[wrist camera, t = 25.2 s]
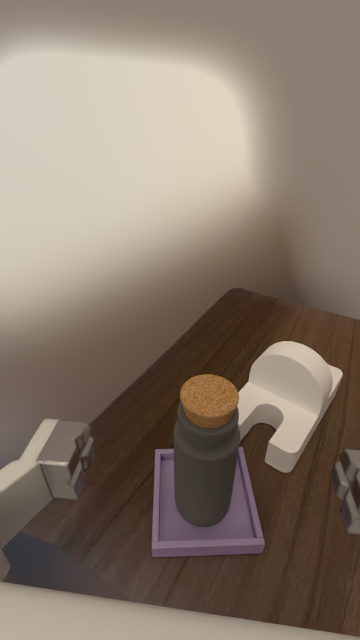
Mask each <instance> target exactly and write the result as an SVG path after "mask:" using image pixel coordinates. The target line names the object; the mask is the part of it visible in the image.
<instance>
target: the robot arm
mask: <svg viewBox="0 0 360 640" xmlns="http://www.w3.org/2000/svg"><path fill="white" fill-rule="evenodd" d="M91 432H92V427H91V424H90V423H81V422H73V421H66V420H57V419H45V420H44V421H43V422H42V423H41V425H40V426H39V428H38V430H37V431H36V433H35V434H34V436H33V438H32V440H31V441H30V443H29V444H28V446H27V448H26V449H25V451H24V452H23V454H22V456H21V457H20V459H19V461H16V460H14V461H13V462H11V463H10V464H8V465H7V466H5V467H4V468H2V469H1V470H0V640H360V637H357V636H351V635H344V634H337V633H331V632H324V631H318V630H311V629H305V628H298V627H292V626H285V625H279V624H272V623H266V622H259V621H253V620H246V619H240V618H233V617H227V616H220V615H214V614H207V613H201V612H194V611H188V610H181V609H175V608H168V607H162V606H155V605H149V604H142V603H136V602H129V601H122V600H116V599H109V598H102V597H96V596H90V595H83V594H77V593H70V592H64V591H57V590H51V589H44V588H38V587H31V586H25V585H18V584H11V583H5V582H3V581H4V579H5V577H6V575H7V573H8V571H9V569H10V564H9V561H8V559H7V558H6V556H5V555H4V553H3V551H2V550H1V549H2V548H3V547H4V546H5V545H6V544H7V543H8V542H9V541H10V540H11V539H12V538H13V537H14V536H15V535H16V534H17V533H18V532H19V531H20V530H21V529H22V528H23V527H24V526H25V525H26V524H27V523H28V522H29V521H30V520H32V519H33V518H34V517H35V516H36V515H37V514H38V513H39V512H40V511H41V510H42V509H43V508H44V507H45V506H46V505H47V504H48V503H49V502H50V501H51V500H52V497H54V498H65V499H75V500H78V497H79V495H80V492H81V490H82V487H83V485H84V482H85V477H84V472H85V471H86V470H88V469H89V468H90V467H91V464H92V461H93V458H94V453H95V441H94V438H93V437H92V436H90V434H91ZM339 458H340V461H339V462H337V463H335V465H334V467H333V470H332V482H333V488H334V491H335V495H336V496H337V497H338V498H339V499H340V500H341V501H342V502H343V504H342V506H341V508H340V512H341V515H342V518H343V522H344V525H345V528H346V532H347V533H351V534H357V535H360V449H352V448H343V449H341V450H340V453H339Z"/></svg>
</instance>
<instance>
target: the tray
mask: <svg viewBox="0 0 360 640" xmlns="http://www.w3.org/2000/svg"><path fill="white" fill-rule="evenodd" d="M264 546H265V542H264V538H263V534H262V529H261V525H260V520H259V516H258V512H257V507H256V503H255V499H254V494H253V490H252V486H251V481H250V477H249V473H248V468H247V464H246V460H245V455H244V452H243V447H239V451H238V458H237V464H236V471H235V477H234V484H233V490H232V497H231V502H230V507H229V510H228V512H227V514H226V516H225V517H224V518H223V519H222V520H221V521H220V522H219V523H217V524H215V525H212V526H208V527H200V526H196V525H193V524H191V523H189V522H188V521H186V520H185V519H184V518H183V517H182V516H181V514H180V513H179V511H178V509H177V507H176V503H175V491H174V449H156V450H155V473H154V499H153V526H152V557H178V556H205V555H232V554H260V553H262V552H263V549H264Z"/></svg>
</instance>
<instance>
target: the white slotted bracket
mask: <svg viewBox="0 0 360 640" xmlns="http://www.w3.org/2000/svg"><path fill="white" fill-rule="evenodd" d="M342 375H343V373H342V371H341V370H339V369H338V368H336V367H333V366H331V365H328V364H327V363H326V362H325V361H324V360H323V359H322V357H321V356H320V355H319V354H317V353H316V352H315V351H314V350H312V349H311V348H309V347H307V346H305V345H303V344H300V343H296V342H290V341H283V342H278V343H275V344H273V345H272V346H270V347H269V348H268V349H267V350H266V351H265V352H264V353H263V354H262V355H261V356H260V357H259V358H258V359H257V360H256V361H255V362H254V363H253V365H252V367H251V370H250V375H249V382H248V383H247V384H246V385H245V386H244V387H243V388H242V389H241V390H240V391H239V392H238V394H239V402H238V405H237V407H238V410H239V420H238V427H239V431H240V441H241V440H242V439H243V438H244V436H245V435H246V434H247V432H248V431H249V430H250V429H251V427H252V426H253V425H255V424H257V423H266V424H269V425H271V426H272V427H274V428H275V429H276V430H277V431H276V432H275V434H274V435H273V436H272V438H271V439H270V441H269V443H268V447H267V452H266V456H265V461H264V462H266V463H267V464H269V465H270V466H272V467H274V468H275V469H277V470H278V471H280V472H283V473H288V472H291V471H292V470H293V468H294V466H295V465H296V463H297V461H298V459H299V458H300V456H301V454H302V452H303V451H304V449H305V447H306V445H307V444H308V442H309V440H310V438H311V437H312V435H313V433H314V431H315V430H316V428H317V426H318V424H319V423H320V421H321V419H322V417H323V416H324V414H325V412H326V410H327V409H328V407H329V405H330V403H331V402H332V400H333V398H334V396H335V395H336V392H337V389H338V386H339V384H340V381H341V378H342Z"/></svg>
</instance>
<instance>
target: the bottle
mask: <svg viewBox="0 0 360 640" xmlns="http://www.w3.org/2000/svg"><path fill="white" fill-rule="evenodd" d="M180 398H181V401H180V403H179V406H178V420H177V421H176V424H175V428H174V491H175V503H176V507H177V509H178V511H179V513H180V514H181V516H182V517H183V518H184V519H185V520H186V521H188V522H189V523H191V524H193V525H196V526H200V527H208V526H212V525H215V524H217V523H219V522H220V521H221V520H222V519H223V518H224V517H225V516H226V514H227V512H228V510H229V507H230V502H231V497H232V490H233V484H234V477H235V471H236V464H237V458H238V451H239V444H240V431H239V427H238V420H239V410H238V407H237V405H238V402H239V394H238V391H237V389H236V387H235V386H234V385H233V384H232V383H231V382H230V381H228V380H227V379H225V378H223V377H220V376H216V375H208V374H206V375H199V376H195V377H193V378H191V379H189V380H188V381H186V382H185V383H184V385H183V386H182V388H181V391H180Z"/></svg>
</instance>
